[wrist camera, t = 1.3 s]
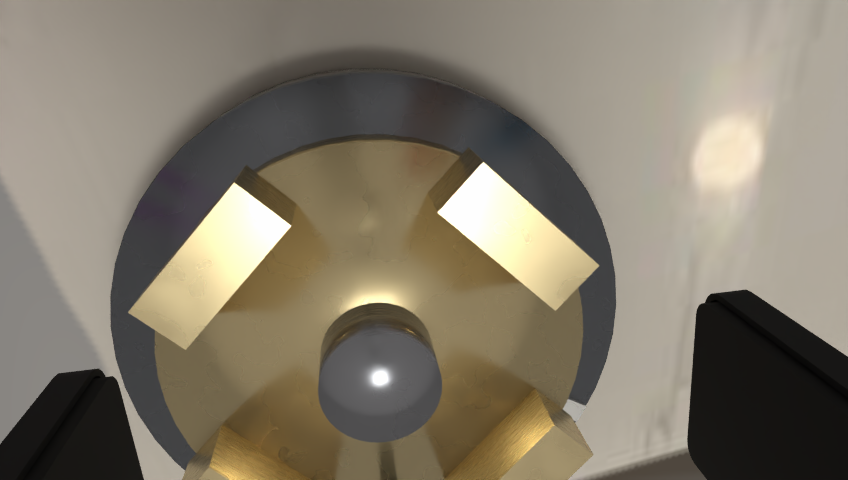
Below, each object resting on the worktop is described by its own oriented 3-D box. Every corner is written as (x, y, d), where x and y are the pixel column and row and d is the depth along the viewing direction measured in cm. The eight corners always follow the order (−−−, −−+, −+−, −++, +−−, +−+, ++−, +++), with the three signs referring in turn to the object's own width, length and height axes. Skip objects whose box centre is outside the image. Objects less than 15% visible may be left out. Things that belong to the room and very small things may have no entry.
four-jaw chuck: (127, 152, 27) (81, 180, 22) (572, 117, 29) (617, 137, 24) (204, 523, 33) (182, 606, 29) (566, 476, 35) (601, 547, 30)
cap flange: (80, 87, 29) (50, 95, 26) (600, 51, 31) (628, 55, 28) (178, 519, 37) (163, 564, 34) (588, 466, 39) (608, 504, 36)
